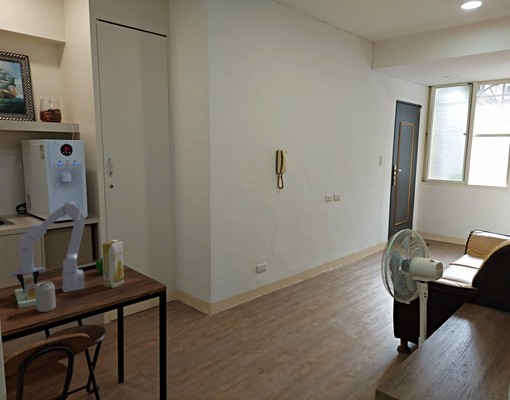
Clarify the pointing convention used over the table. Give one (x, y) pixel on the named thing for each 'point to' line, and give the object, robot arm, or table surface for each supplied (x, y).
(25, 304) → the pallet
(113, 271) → the juice carton
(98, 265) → the bell pepper
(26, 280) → the small drink carton
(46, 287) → the can
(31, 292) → the glass of amber drink
